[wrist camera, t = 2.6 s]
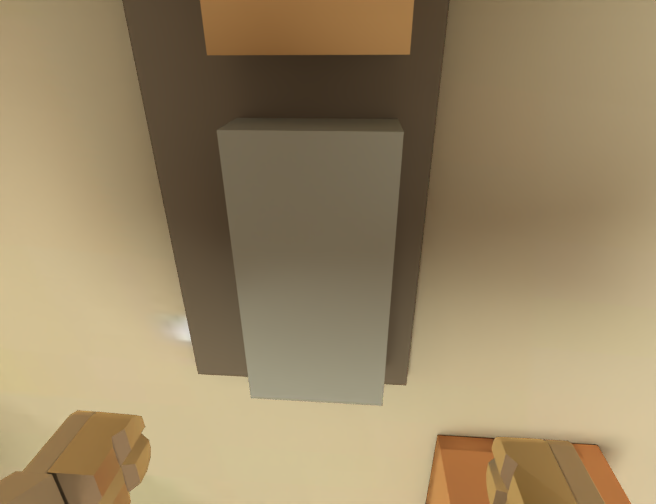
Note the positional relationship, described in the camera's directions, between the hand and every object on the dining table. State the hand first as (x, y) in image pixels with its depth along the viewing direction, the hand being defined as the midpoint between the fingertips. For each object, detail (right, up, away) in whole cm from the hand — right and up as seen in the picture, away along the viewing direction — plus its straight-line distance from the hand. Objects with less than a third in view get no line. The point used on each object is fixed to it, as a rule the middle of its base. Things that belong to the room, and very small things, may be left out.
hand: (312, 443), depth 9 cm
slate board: (0, +4, +7) cm, 8 cm away
